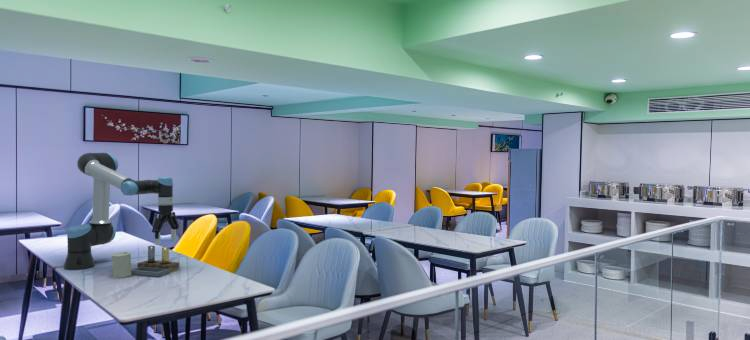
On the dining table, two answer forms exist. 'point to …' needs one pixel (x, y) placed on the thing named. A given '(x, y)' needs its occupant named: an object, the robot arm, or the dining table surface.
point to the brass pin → (165, 255)
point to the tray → (150, 271)
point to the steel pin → (151, 254)
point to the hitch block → (160, 265)
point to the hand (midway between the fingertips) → (165, 242)
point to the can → (121, 264)
